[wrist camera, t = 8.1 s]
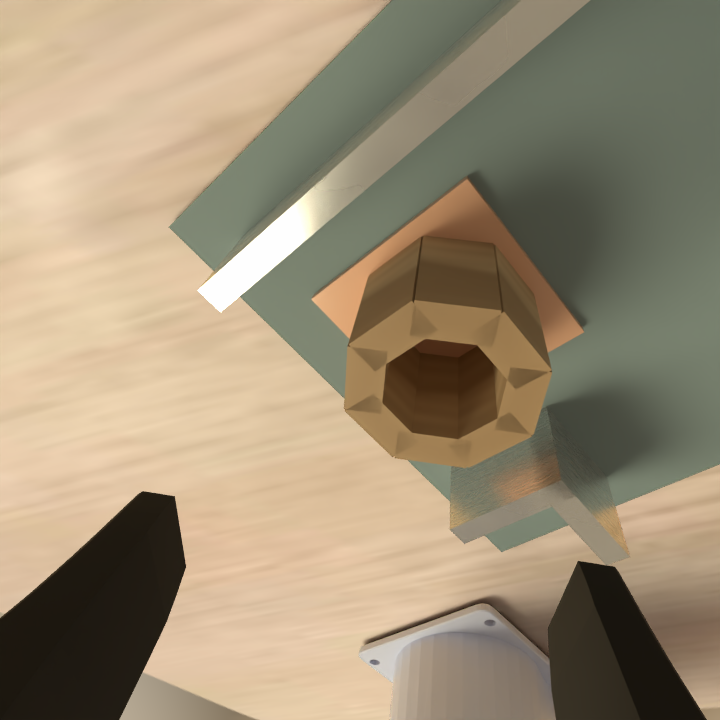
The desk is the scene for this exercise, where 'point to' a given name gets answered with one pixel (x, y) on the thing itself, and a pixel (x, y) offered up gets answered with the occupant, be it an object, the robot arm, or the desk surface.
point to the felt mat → (532, 214)
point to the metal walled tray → (359, 171)
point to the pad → (455, 221)
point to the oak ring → (444, 373)
